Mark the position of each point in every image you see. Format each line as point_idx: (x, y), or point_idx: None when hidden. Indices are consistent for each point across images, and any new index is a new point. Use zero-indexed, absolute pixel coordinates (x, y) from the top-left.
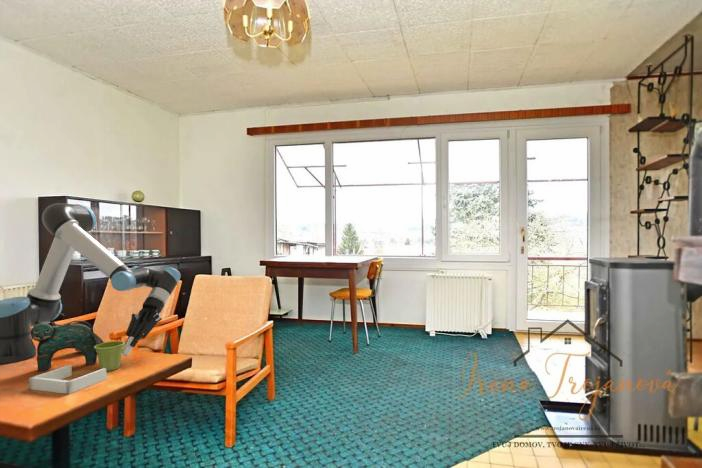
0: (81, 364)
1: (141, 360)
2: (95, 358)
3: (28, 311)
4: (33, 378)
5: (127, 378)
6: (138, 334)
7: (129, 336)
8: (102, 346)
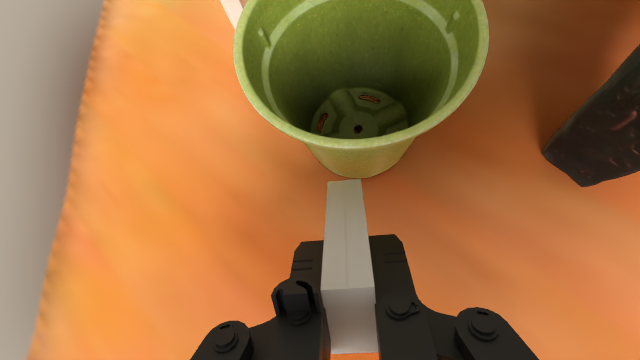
0: None
1: None
2: (560, 143)
3: None
4: None
5: (149, 66)
6: (275, 350)
7: (393, 294)
8: (464, 54)
